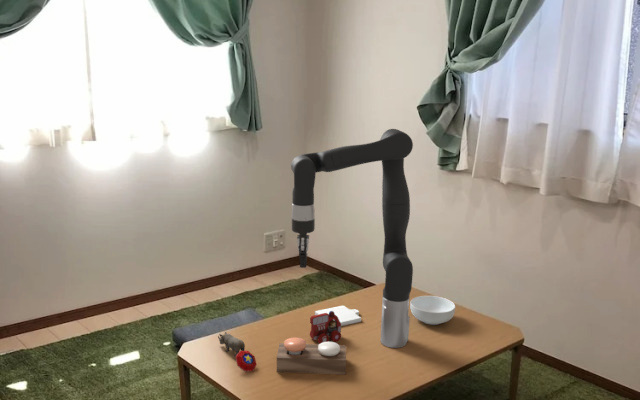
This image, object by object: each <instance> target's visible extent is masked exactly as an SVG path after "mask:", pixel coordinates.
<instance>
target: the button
mask: <svg viewBox="0 0 640 400" xmlns="http://www.w3.org/2000/svg"><path fill="white" fill-rule="evenodd" d="M234 359H235V361H236V365H237V367H238V368H240V369H241V370H242V371H243V372H253V371H254V370H255V368H256V367H257V360H256V356H255V355H254V354H252V353H251V352H250V351H249V350H245V351H241V350H240V351H239V352H238V354H237V355H236V357H234Z"/></svg>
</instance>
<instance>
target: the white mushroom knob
mask: <svg viewBox="0 0 640 400" xmlns="http://www.w3.org/2000/svg"><path fill="white" fill-rule="evenodd" d="M318 344H319V343H318ZM339 345H340V344H338V342H333V341H328V342H322V343H320V344H319V345H318V352H319V353H320V354H321V355H323V356H335V355H337V354H339V352H340V346H339Z"/></svg>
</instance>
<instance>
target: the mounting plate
mask: <svg viewBox="0 0 640 400" xmlns="http://www.w3.org/2000/svg"><path fill="white" fill-rule="evenodd" d="M330 311H333V312H334V314H335V315H336V316H337V317H338V319H339V321H340V323H341V327H343V326H349V325H352V324H357V323H361V321H362V317H361V316H359V313H360V311H359V310H358V309H355V308H353V309H350V308H348V307H346V306H345V305H339V306H334V307H330V308H329V307H328V308H325V309H324V308H323V309H319V310H314V315H319V314H323V313H327V314H329V312H330ZM334 321H335V320H334ZM335 327H336V326H335Z"/></svg>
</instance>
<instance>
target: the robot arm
mask: <svg viewBox="0 0 640 400" xmlns="http://www.w3.org/2000/svg"><path fill="white" fill-rule="evenodd" d="M413 144H414V143H413V139H412V138H411V137H410V135H409V134H407V133H406V132H404V131H401V130H400V129H396V128H390V129H387V130H385V131H384V132H383V133H382V135H381V137H380V139H379V140H377V141H373V142H368V143H363V144H354V145H345V146H340V147H334V148H332V149H328V150H324V151H319V152H318V151H317V152H311V153H310V152H309V153H303V154H300V155H297V156H295V157H294V158H293V159H292V160H291V164H290V166H291V167H290V169H291V171H292V173H293V188H292V191H291V192H292V198H291V199H292V201H291V202H292V204H291V231H292V232H293V233H295V234H296V233H297V234H296V235H297V237H296V243H297V251H298V257H299V268H305V269H306V268H307V257H308V251H309V243H310V235H309V234H311V233H313V232H315V228H316V227H315V226H316V224H315V222H316V221H315V220H316V218H315V216H316V215H315V209H316V208H315V191H314V189H315V182H316V174H317V173H320V172H324V173H331V172H335V171H340V170H343V169H347V168H352V167H355V166H359V165H364V164H369V163H374V162H381V166H382V181H381V183H382V185H381V188H382V195H381V196H382V198H381V199H382V200H381V201H382V203H381V204H382V205H381V207H382V208H381V209H382V210H381V212H382V223H383V224H382V225H383V233H384V243H383V244H384V245H383V257H382V267H383V268H384V271H385V281H384V287H383V290H382V299H381V300H382V303H381V304H382V306H381V320H380V321H381V324H380V343H381V344H382V345H383V346H385V347H387V348H392V349H397V348H403V347H404V346H406V345H407V342H409V336H410V335H409V333H410V318H411V317H410V316H409V310H410V309H409V308H410V295H411V292H412V287H413V276H414V275H413V274H414V269H413V267H414V266H413V263H412V261H411V259H410V258H409V256H408V253H407V252H408V250H407V242H406V241H407V240H406V235H407V229H408V225H409V221H410V213H411V200H410V197H411V196H410V191H409V187H408V183H407V178H406V175H405V168H404V165H405V158H407V157H408V156H410V154H411V152H412V151H413V148H414V145H413Z"/></svg>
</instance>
